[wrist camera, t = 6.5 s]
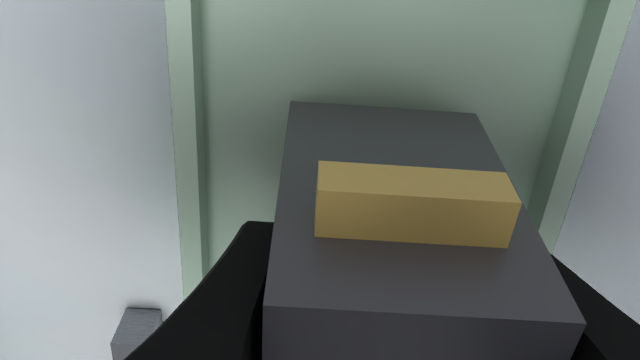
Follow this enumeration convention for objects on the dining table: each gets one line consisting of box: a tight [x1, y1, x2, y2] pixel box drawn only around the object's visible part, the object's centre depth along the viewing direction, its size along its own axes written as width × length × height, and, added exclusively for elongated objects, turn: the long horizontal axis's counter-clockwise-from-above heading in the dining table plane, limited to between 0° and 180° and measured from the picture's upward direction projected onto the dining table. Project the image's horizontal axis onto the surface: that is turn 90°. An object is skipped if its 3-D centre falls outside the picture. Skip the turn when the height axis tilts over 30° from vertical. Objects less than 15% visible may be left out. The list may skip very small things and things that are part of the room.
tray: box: [164, 0, 637, 300], centre depth 13 cm, size 9×11×2 cm
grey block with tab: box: [262, 101, 587, 360], centre depth 11 cm, size 4×8×6 cm, turn 176°
